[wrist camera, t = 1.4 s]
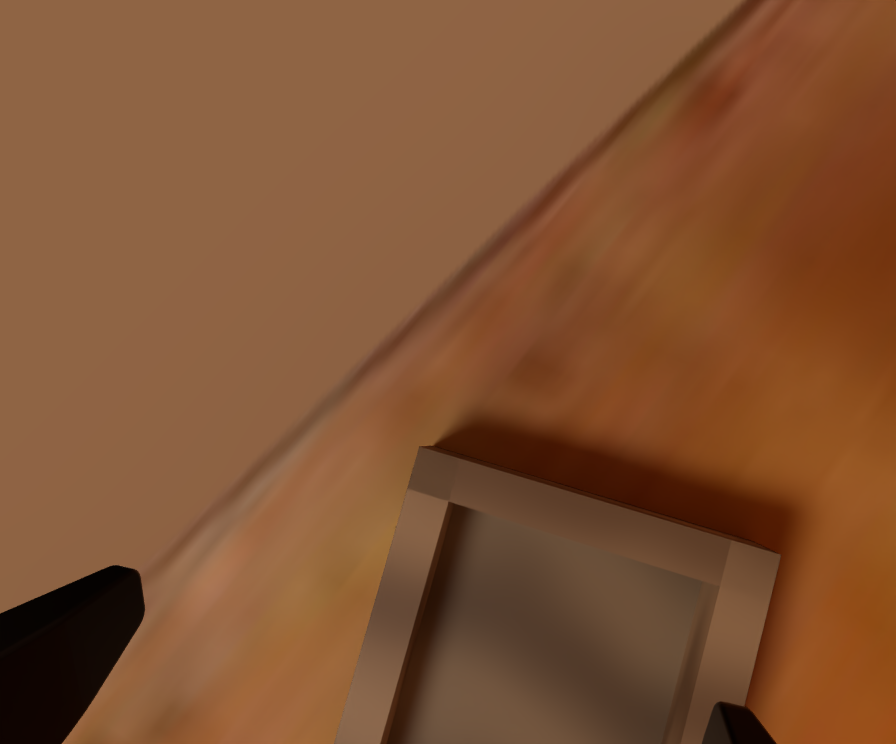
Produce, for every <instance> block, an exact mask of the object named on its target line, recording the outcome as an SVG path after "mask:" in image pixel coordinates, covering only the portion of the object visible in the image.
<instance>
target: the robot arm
mask: <svg viewBox="0 0 896 744" xmlns="http://www.w3.org/2000/svg"><path fill="white" fill-rule="evenodd" d="M144 612H145V604H144V597H143V590H142V583H141V577H140V574H139V572H138V571H137V570H135V569H131V568H127V567H123V566H118V565H113V566H109V567H107V568H105V569H102V570H100V571H98V572H95V573H93V574H91V575H88V576H86V577H84V578H81V579H79V580H77V581H75V582H72V583H70V584H67V585H65V586H63V587H61V588H58V589H56V590H54V591H51V592H49V593H47V594H45V595H42V596H40V597H37V598H35V599H33V600H30V601H28V602H26V603H24V604H21V605H19V606H17V607H14V608H12V609H10V610H7V611H5V612H3V613H1V614H0V744H62V743H63V741H64V740H65V739H66V737H67V736H68V735H69V733H70V732H71V731H72V729H73V728H74V727H75V725H76V724H77V723H78V721H79V720H80V718H81V717H82V716H83V714H84V713H85V711H86V710H87V708H88V707H89V705H90V704H91V702H92V701H93V699H94V698H95V696H96V695H97V693H98V691H99V690H100V688H101V687H102V685H103V683H104V682H105V680H106V679H107V677H108V675H109V674H110V672H111V671H112V669H113V667H114V666H115V664H116V663H117V661H118V659H119V658H120V656H121V655H122V653H123V651H124V650H125V648H126V647H127V645H128V643H129V642H130V640H131V639H132V637H133V635H134V634H135V632H136V631H137V629H138V627H139V626H140V624H141V622H142V620H143V617H144ZM702 744H776V742H775V741H774V740H773V738H772V737H771V736H770V734H769V733H768V732H767V730H766V729H765V728H764V726H763V725H762V724H761V723H760V721H759V720H758V719H757V717H756V716H755V715H754V713H753V712H752V711H751V710H750V709H748V708H747V707H745V706H741V705H737V704H732V703H728V702H723V701H719V702H717V703H716V704H715V705H714V707H713V710H712V713H711V716H710V719H709V722H708V725H707V728H706V731H705V734H704V737H703V740H702Z"/></svg>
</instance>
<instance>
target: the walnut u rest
mask: <svg viewBox="0 0 896 744" xmlns="http://www.w3.org/2000/svg"><path fill="white" fill-rule="evenodd" d="M780 558H781V555H780V554H778V553H776V552H774V551H772V550H770V549H768V548H766V547H764V546H762V545H760V544H757V543H755V542H753V541H750V540H746V539H743V538H740V537H736V536H733V535H730V534H726V533H723V532H720V531H716V530H713V529H709V528H706V527H703V526H699V525H696V524H693V523H689V522H686V521H683V520H679V519H676V518H673V517H669V516H666V515H662V514H659V513H656V512H652V511H649V510H646V509H642V508H639V507H636V506H632V505H629V504H626V503H622V502H619V501H616V500H612V499H609V498H605V497H602V496H599V495H595V494H592V493H589V492H585V491H582V490H579V489H575V488H572V487H569V486H565V485H562V484H558V483H555V482H552V481H548V480H545V479H542V478H538V477H535V476H532V475H528V474H525V473H522V472H518V471H515V470H511V469H508V468H505V467H501V466H498V465H495V464H491V463H488V462H485V461H481V460H478V459H475V458H471V457H468V456H465V455H461V454H458V453H454V452H451V451H448V450H444V449H441V448H438V447H434V446H421V447H419V450H418V453H417V457H416V460H415V464H414V467H413V471H412V474H411V478H410V481H409V485H408V488H407V492H406V495H405V499H404V502H403V505H402V509H401V512H400V516H399V519H398V523H397V526H396V530H395V533H394V537H393V540H392V544H391V547H390V551H389V554H388V558H387V561H386V565H385V568H384V572H383V575H382V579H381V582H380V586H379V589H378V593H377V596H376V599H375V603H374V606H373V610H372V613H371V617H370V620H369V624H368V627H367V631H366V634H365V638H364V641H363V645H362V648H361V652H360V655H359V659H358V662H357V666H356V669H355V673H354V676H353V680H352V683H351V687H350V690H349V693H348V697H347V700H346V704H345V707H344V711H343V714H342V718H341V721H340V725H339V728H338V732H337V735H336V739H335V742H334V744H702V740H703V737H704V734H705V731H706V728H707V725H708V722H709V719H710V716H711V713H712V710H713V707H714V705H715V704H716V703H717V702H719V701H723V702H728V703H732V704H737V705H741V706H744V705H745V701H746V697H747V693H748V689H749V685H750V681H751V677H752V672H753V668H754V664H755V660H756V656H757V652H758V648H759V644H760V640H761V636H762V632H763V627H764V623H765V619H766V615H767V611H768V607H769V603H770V599H771V595H772V591H773V586H774V582H775V578H776V574H777V570H778V566H779V562H780Z"/></svg>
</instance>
